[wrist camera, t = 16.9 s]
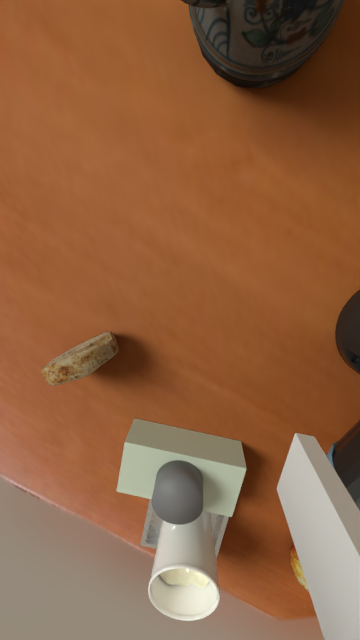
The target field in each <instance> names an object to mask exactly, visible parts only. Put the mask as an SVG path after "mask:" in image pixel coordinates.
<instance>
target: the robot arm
mask: <svg viewBox="0 0 360 640" xmlns="http://www.w3.org/2000/svg"><path fill="white" fill-rule="evenodd" d="M335 335H336V344H337V348H338V351H339V353H340V355H341V357H342V358H343V360H344V361H345V362H346V363H347V364H348V365H349V366H350V367H351V368H352V369H354V370H355V371H356V372H357V373H359V374H360V290H359V291H358V292H357V293H355V294H354V295H353V296H352V297H351V298H350V300H349V301H348V302H347V303H346V305H345V306H344V308H343V309H342V311H341V313H340V315H339V318H338V321H337V325H336V334H335ZM277 491H278V495H279V498H280V501H281V504H282V507H283V510H284V514H285V517H286V520H287V523H288V526H289V529H290V532H291V536H292V539H293V542H294V545H295V548H296V551H297V555H298V558H299V561H300V564H301V567H302V570H303V573H304V577H305V580H306V583H307V586H308V589H309V592H310V596H311V599H312V602H313V605H314V608H315V611H316V614H317V618H318V621H319V624H320V627H321V630H322V633H323V637H324V640H360V420H359V421H358V422H357V423H356V424H355V425H354V426H353V428H352V429H351V430H350V431H349V432H348V433H346V434H345V435H344V436H343V437H342V438H341V439H340V440H339V441H337V442H335V443H334V444H333V445H332V446H331V448H330V451H329V452H328V454H327V455H325V453H324V452H323V450H322V448H321V447H320V445H319V443H318V442H317V440H316V439H315V437H313V436H308V435H303V434H299V433H295V435H294V438H293V441H292V444H291V447H290V450H289V453H288V456H287V459H286V462H285V465H284V468H283V471H282V474H281V477H280V480H279V483H278V486H277Z"/></svg>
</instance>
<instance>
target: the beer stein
mask: <svg viewBox="0 0 360 640" xmlns="http://www.w3.org/2000/svg"><path fill="white" fill-rule="evenodd" d="M181 1H183V2H184V3H187V4H189V12H190V17H191V21H192V25H193V29H194V32H195V35H196V37H197V40H198V43H199V46H200V49H201V52H202V54H203V57H204V58H205V59H206V60H207V62H208V63H209V64H210V66H211V67H212V68H213V70H214V71H215V72H216V74H218V75H219V76H221V77H223V78H224V79H226V80H228V81H229V82H231V83H233V84H234V85H236V86H241V87H253V88H264V87H267V86H270V85H272V84H275V83H278V82H281V81H283V80H284V79H286V78H287V77H289V76H290V75H292V74H293V73H295V72H296V71H297V69H298V68H299V67H300V66H301V65H302V64H303V63H304V62H305V61H306V60H307V59H308V58H309V57H310V56H311V55H312V54H314V53H315V52H316V50H317V49H318V48H319V47H320V45H321V44H322V43H323V41H324V40H325V39H326V37H327V35H328V34H329V32H330V30H331V29H332V27H333V25H334V23H335V21H336V19H337V17H338V14H339V12H340V10H341V7H342V5H343V2H344V0H181Z"/></svg>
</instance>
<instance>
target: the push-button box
mask: <svg viewBox="0 0 360 640" xmlns="http://www.w3.org/2000/svg"><path fill="white" fill-rule="evenodd" d="M246 469H247V468H246V463H245V458H244V453H243V449H242V444H241V441H237V440H233V439H228V438H224V437H219V436H214V435H210V434H205V433H200V432H196V431H191V430H187V429H182V428H177V427H173V426H168V425H163V424H159V423H154V422H150V421H145V420H140V419H136V418H134V421H133V423H132V426H131V428H130V430H129V433H128V435H127V438H126V440H125V444H124V450H123V456H122V462H121V468H120V474H119V480H118V486H117V492H121V493H126V494H130V495H135V496H139V497H144V498H148V499H152V507H153V510H154V512H155V513H156V514H157V516H158V517H160V518H161V519H162V520H164V521H166V522H168V523H171V524H176V525H183V524H188V523H191V522H193V521H194V520H196V519H197V518H198V517H199V516H200V515H201V513H202V511H206V512H211V513H215V514H220V515H224V516H229V517H232V516H233V512H234V509H235V506H236V502H237V499H238V496H239V492H240V489H241V486H242V482H243V479H244V476H245V472H246Z"/></svg>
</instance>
